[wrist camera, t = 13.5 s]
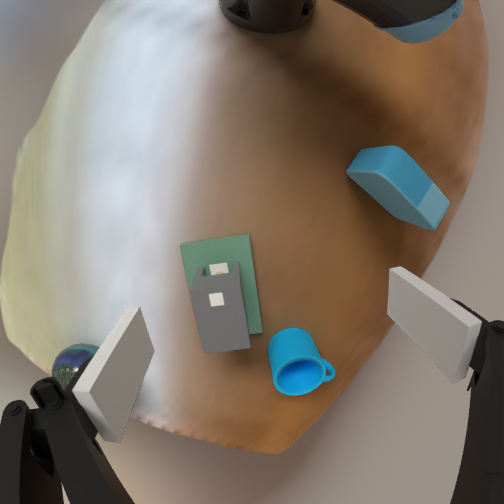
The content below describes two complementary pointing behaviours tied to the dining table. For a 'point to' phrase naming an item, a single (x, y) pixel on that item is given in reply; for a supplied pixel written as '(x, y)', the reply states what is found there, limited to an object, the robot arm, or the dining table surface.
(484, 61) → the dining table surface
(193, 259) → the header board
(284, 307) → the dining table surface
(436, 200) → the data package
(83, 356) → the vase
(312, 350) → the mug
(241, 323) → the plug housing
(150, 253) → the dining table surface
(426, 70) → the dining table surface
